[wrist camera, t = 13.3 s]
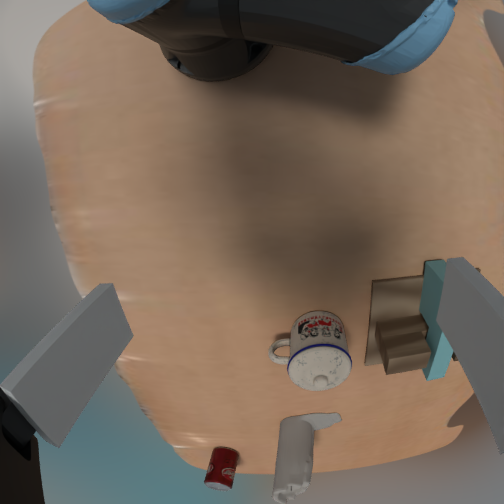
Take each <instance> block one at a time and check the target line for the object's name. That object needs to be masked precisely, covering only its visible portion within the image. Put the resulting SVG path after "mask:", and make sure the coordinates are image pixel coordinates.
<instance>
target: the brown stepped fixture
mask: <svg viewBox="0 0 504 504" xmlns="http://www.w3.org/2000/svg"><path fill="white" fill-rule="evenodd" d="M475 269H476V270H477V271H478V272H480V269H479V268H475ZM423 279H424V275H419V276H410V277H401V278H392V279H382V280H372V291H371V306H370V318H369V329H368V338H367V347H366V355H365V362H364V363H365V366H367V365H375V364H382V363H383V365H384V369H385V372H386V375H388V374H394V373H400V372H406V371H412V370H417V369H422V368H427V364H428V361H429V358H430V355H431V350H430V348H429V346H428V344H427V342H426V337H427V333H428V329H429V326H428V325H427V323H426V321H425V319H424V318H423V316H422V314H421V312H420V311H419V306H420V300H421V294H422V287H423ZM452 358H453V360H454V361H458V358H457V356H456V355H455V353H454V351H453V354H452Z"/></svg>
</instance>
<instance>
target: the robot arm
mask: <svg viewBox="0 0 504 504" xmlns="http://www.w3.org/2000/svg"><path fill="white" fill-rule="evenodd" d="M87 1H88V2H89V5H90V6H91V7H92V8H93V9H94V10H96V11H97V12H99V13H100V14H101V15H103V16H104V17H106V18H107V19H108V20H110V21H111V22H113V23H116V24H121V25H123V26H125V27H127V28H129V29H131V30H133V31H135V32H137V33H139V34H141V35H143V36H145V37H147V38H149V39H151V40H153V41H155V42H157V43H158V44H159V45H160V48H161V50H162V53H163V55H164V56H165V58H166V59H167V61H168V62H169V63H170V64H171V65H172V66H173V67H174V68H175V69H177V70H178V71H180V72H182V73H184V74H186V75H188V76H190V77H192V78H195V79H199V80H205V81H221V80H227V79H231V78H235V77H237V76H240V75H242V74H244V73H246V72H248V71H250V70H251V69H253V68H254V67H256V66H257V65H258V64H259V63H260V62H261V61H262V60H263V59H264V58H265V57H266V56H267V54H268V53H269V51H270V50H271V48H272V46H273V45H279V46H284V47H289V48H293V49H298V50H302V51H307V52H311V53H315V54H319V55H323V56H326V57H330V58H333V59H337V60H340V61H341V62H342V63H343V64H346V65H350V66H361V67H364V68H368V69H371V70H374V71H377V72H380V73H383V74H389V75H395V74H399V73H405V72H408V71H411V70H412V69H414V68H416V67H418V66H419V65H420V64H422V63H423V62H424V61H425V60H426V59H427V58H429V57H430V55H431V54H432V53H433V52H434V51H435V50H436V49H437V47H438V46H439V45H440V43H441V42H442V40H443V39H444V37H445V36H446V34H447V32H448V30H449V28H450V26H451V24H452V22H453V19H454V16H455V12H454V11H453V8H454V7H455V5H456V4H457V2H458V0H87ZM436 321H437V323H438V325H439V326H440V328H441V330H442V332H443V333H444V335H445V337H446V338H447V340H448V342H449V344H450V346H451V347H452V349H453V351H454V353H455V355H456V356H457V358H458V360H459V362H460V364H461V366H462V368H463V370H464V372H465V374H466V376H467V378H468V380H469V382H470V384H471V386H472V388H473V390H474V392H475V394H476V396H477V398H478V400H479V403H480V405H481V407H482V409H483V412H484V414H485V416H486V419H487V421H488V424H489V426H490V428H491V431H492V433H493V436H494V439H495V441H496V444H497V447H498V449H499V452H500V454H502V453H504V297H503V296H502V295H501V293H500V292H499V291H498V290H497V289H496V288H495V287H494V286H493V285H492V284H491V283H490V282H489V281H488V280H487V279H486V278H485V277H484V276H483V275H482V274H481V273H480V272H478V271H477V270H476V269H475V268H474V267H473V266H472V265H471V264H470V263H469V262H468V261H467V260H466V259H465V258H463V257H459V258H450V259H447V263H446V270H445V277H444V283H443V289H442V294H441V300H440V305H439V309H438V314H437V318H436ZM132 338H133V333H132V331H131V329H130V326H129V324H128V322H127V319H126V317H125V314H124V312H123V309H122V307H121V304H120V301H119V299H118V296H117V294H116V291H115V288H114V285H113V283H109V284H99V285H98V286H97V287H96V288H95V289H93V290H92V291H91V292H90V293H89V294H88V295H87V296H86V297H85V298H84V299H83V300H82V301H81V302H79V303H78V305H76V306H75V307H74V308H73V309H72V310H71V311H70V312H69V313H68V314H67V315H66V316H65V317H64V318H63V319H62V320H61V321H60V322H59V323H58V324H57V325H56V326H55V327H54V328H53V329H52V330H51V331H50V332H49V333H48V334H47V335H46V336H45V337H44V338H43V339H42V340H41V341H40V342H39V343H38V344H37V345H36V346H35V347H34V348H33V349H32V350H31V351H30V352H29V353H28V354H27V355H26V356H25V358H24V359H23V360H22V361H21V362H20V363H19V364H18V365H17V366H16V367H15V368H14V370H13V371H12V372H11V373H10V374H9V375H8V376H7V377H6V379H5V380H4V381H3V382H2V383H1V384H0V504H45V502H44V496H43V488H42V481H41V473H40V462H39V448H38V440H37V438H36V437H35V436H34V435H33V434H34V433H35V432H36V431H37V432H38V433H39V434H40V436H42V438H43V439H44V440H45V441H47V442H49V443H50V444H52V445H54V446H56V447H58V448H59V447H60V446H61V444H62V443H63V441H64V439H65V438H66V436H67V435H68V433H69V431H70V430H71V428H72V426H73V425H74V423H75V422H76V420H77V419H78V417H79V416H80V414H81V412H82V411H83V409H84V408H85V406H86V405H87V403H88V402H89V400H90V399H91V397H92V396H93V394H94V393H95V391H96V390H97V388H98V387H99V385H100V384H101V382H102V381H103V379H104V378H105V376H106V375H107V373H108V372H109V370H110V369H111V367H112V366H113V365H114V363H115V362H116V360H117V359H118V357H119V356H120V355H121V353H122V352H123V350H124V349H125V347H126V346H127V345H128V343H129V342H130V340H131V339H132Z"/></svg>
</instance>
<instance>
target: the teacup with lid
mask: <svg viewBox="0 0 504 504" xmlns="http://www.w3.org/2000/svg"><path fill="white" fill-rule="evenodd" d="M281 346H290V357H281V356H277V355H275V354H274V351H275V350H276V349H277V348H279V347H281ZM269 358H270V359H271V360H272V361H273V362H275V363H278V364H288V367H287V370H288V374H289V376H290V378H291V380H292V381H293V382H294V383H295V384H296V385H297V386H299V387H301V388H304V389H307V390H312V391H321V390H327V389H331V388H333V387H336V386H338V385H339V384H341V383H342V382H343V381H344V380H345V379H346V378H347V377H348V375H349V374H350V371H351V368H352V360H351V357H350V355H349V353H348V347H347V342H346V337H345V332H344V327H343V324H342V322H341V320H340V319H339V318H338V317H337V316H335V315H334V314H332V313H329V312H325V311H314V312H309V313H307V314H304V315H303V316H301V317H300V318H298V319H297V320H296V322H295V323H294V324H293V326H292V329H291V338H287V339H280V340H277V341H276V342H274V343H273V344H272V345H271V346H270V348H269Z"/></svg>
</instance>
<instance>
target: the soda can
mask: <svg viewBox="0 0 504 504" xmlns="http://www.w3.org/2000/svg"><path fill="white" fill-rule="evenodd" d="M238 457H239V455H238V453H237V452H236V451H235V450H233V449H231V448H227V447H217V448H215V449H213V452H212V455H211V459H210V462H209V466H208V470H207V473H206V477H205V480H204V483H205V485H206V486H207V487H209V488H211V489H215V490H219V491H228V490H230V489H231V488H232V485H233V480H234V475H235V471H236V466H237V461H238Z"/></svg>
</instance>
